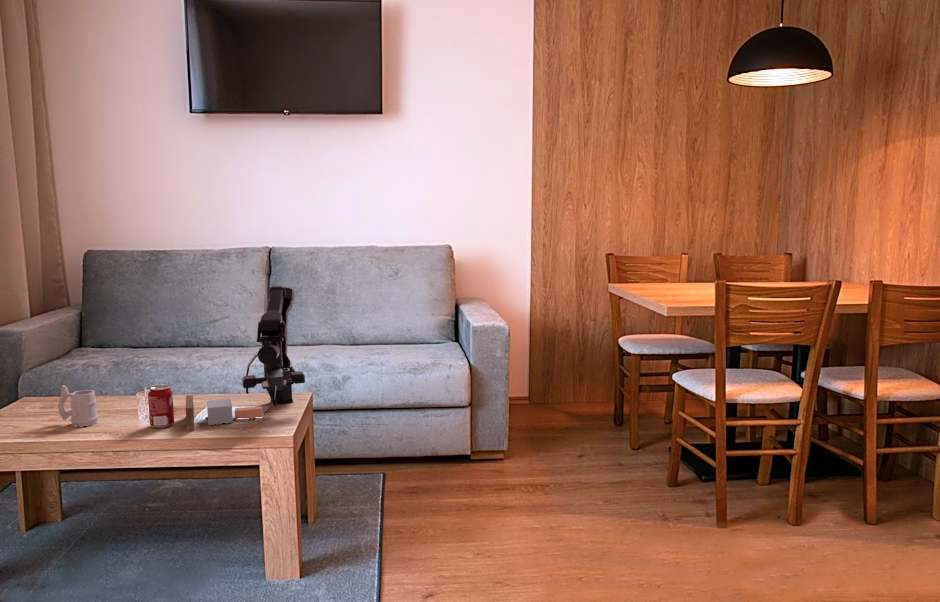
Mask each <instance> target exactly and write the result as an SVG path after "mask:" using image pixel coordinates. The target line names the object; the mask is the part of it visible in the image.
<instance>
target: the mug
mask: <svg viewBox="0 0 940 602" xmlns="http://www.w3.org/2000/svg"><path fill="white" fill-rule="evenodd" d="M68 398H70V403H69V405H70V408H71V410H68V409H67V408H66V401H67V399H68ZM57 407H58V414H59V416H60V417H61V418H62V420H63V421H67V419H68V418H69V417H70V416H71V417H70V423H71V426H72V425H73V426H74V428H84V427H83V426H87V427H90V426H89V425H92V426H94V425H93V424H95V423H97V422H98V423H99V417H100V415H99V414H98V411H97V409H98V408H97V399H96V394H95V390H92V389H84V390H76V391H73V392H69V388H68V386H66V385H64V384H63V385H61V392H60V396H59V401H58V404H57ZM98 423H97V424H98ZM95 425H96V424H95ZM73 426H72V427H73ZM78 426H79V427H78Z"/></svg>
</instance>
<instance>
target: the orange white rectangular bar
mask: <svg viewBox="0 0 940 602" xmlns="http://www.w3.org/2000/svg"><path fill="white" fill-rule="evenodd" d="M255 417H262V418H263V407H262V406H261V405H260V406H248V407H247V406H246V407H235V408H234V420H235V419H238V418H255Z"/></svg>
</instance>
